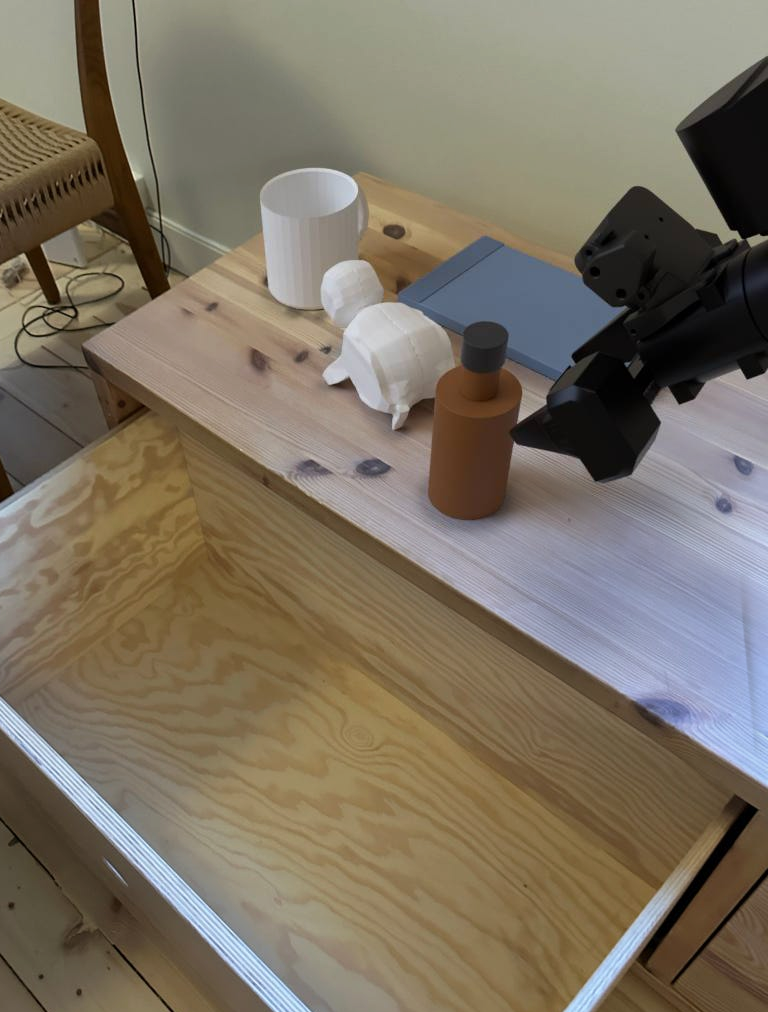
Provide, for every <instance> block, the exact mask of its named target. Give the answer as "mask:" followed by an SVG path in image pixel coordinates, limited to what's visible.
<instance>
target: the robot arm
mask: <svg viewBox="0 0 768 1012" xmlns="http://www.w3.org/2000/svg"><path fill="white" fill-rule="evenodd" d="M674 132H675V133H676V135H677V137H678V139H679V140H680V142H681V145H682V146H683V148H684V149H685V152H686V153H687V156H688V157H689V159H690V160H691V162H692V164H693V166H694V167H695V170H696V171H697V173H698V175H699V177H700V178H701V180H702V183H703V184H704V185H705V187H706V189H707V192H708V193H709V195H710V196H711V198H712V200H713V202H714V204H715V205H716V207H717V209H718V211H719V213H720V215H721V216H722V218H723V220H724V222H725V223H726V226H727V227H728V229H729V231H732V232H737V233H738V235H739V237H740V238H741V240H740V241H738V240H737V238H732V239H730V240H728V241H726V242H724V243H723V242H722V240H721V237H720V236H719V235H718V234H717V233H715V232H711V231H707V230H703V229H700V228H695V227H694V225H692V224H691V223H690V222H689V221H687V219H685V218H684V217H683V216H682V215H681V214H679V213H678V212H676V211H675V210H674V209H673V208H672V207H671V206H670V205H668V204H667V203H666V202H665V201H663V199H661V198H660V197H659V196H657V195H656V194H655V193H654V192H652V190H650V189H648V188H647V187H644V186H641V185H634V186H632V187H630V188H629V189H628V190H627V192H626V193H624V195H623V196H622V197H621V198H620V199H619V200H618V201H617V202H616V203H615V205H614V206H613V207H612V208H611V209H610V210H609V211H608V213H607V214H606V215H605V216H604V218H603V219H602V220H601V221H600V223H599V224H598V225H597V227H596V228H595V229H594V231H593V232H592V233H591V235H590V236H589V237H588V238H587V240H586V241H585V242H584V244H582V246H581V247H580V249H579V250H578V251H577V252H576V254H575V255H574V265H575V268H576V269H577V271H578V272H579V273H580V274H581V277H582V279H583V283H584V284H585V285H586V286H587V287H588V288H589V289H590V290H592V291H593V292H594V293H595V294H596V295H598V296H599V297H600V298H601V299H602V300H604V301H605V302H606V303H607V304H608V305H610V306H611V307H623V306H626V307H627V308H626V309H624V310H623V311H622V312H621V313H620V314H618V315H617V316H616V317H615V318H614V319H613V320H611V321H610V322H609V323H608V324H607V325H605V326H604V327H603V328H602V329H601V330H599V331H598V332H597V333H596V334H595V335H593V336H592V337H591V338H590V339H589V340H587V341H586V342H585V343H584V344H583V345H581V346H580V347H579V348H578V349H577V350H575V351H574V352H573V354H572V355H571V357H572V359H573V361H574V362H575V365H574V366H573V367H571V365H569V366H568V367H567V368H566V370H565V371H564V372H563V373H562V375H561V376H560V377H559V378H558V380H557V381H555V382H554V383H553V385H552V386H551V387H550V388H549V391H548V394H547V395H545V400H546V401H545V402H546V404H545V405H543V406H542V407H540V408H539V409H537V410H535V411H534V412H532V413H531V414H529V415H528V416H526V417H525V418H523V419H522V420H521V421H519V422H517V425H515V426H514V427H512V428H511V429H510V431H509V435H510V436H511V437H512V439H513V440H514V443H515V444H516V445H518V446H521V447H527V448H531V449H534V450H535V449H537V450H541V451H545V452H550V453H555V454H560V455H563V456H568V457H572V458H574V459H577V460H579V461H580V462H581V463H582V465H583V466H584V468H585V470H586V471H587V472H588V474H589V476H590V477H591V479H592V480H593V482H595V483H599V484H603V485H604V484H607V483H611V482H614V481H618V480H619V479H620V480H621V479H624V478H628V477H630V476H632V475H633V474H634V472H635V471H636V469H637V468H638V466H639V464H641V462H642V460H643V459H644V458H645V456H646V455H647V453H649V450H650V449H651V447H652V446H653V444H654V443H655V442H656V439H657V436H658V434H659V431H660V427H661V425H662V421H661V420H660V418H659V416H658V415H657V413H656V412H655V410H654V408H653V407H652V404H653V403H654V401H655V400H656V399H657V397H658V396H659V394H660V393H661V392H662V390H663V389H665V388H668V390H669V391H670V393H671V394H672V396H673V398H674V399H675V401H676V403H677V404H678V406H681V405H683V404H686V403H688V402H691V401H693V400H695V399H696V398H697V397H698V395H699V394H700V392H701V391H702V390H703V388H704V386H705V385H706V384H707V382H710V381H712V380H715V379H717V378H720V377H722V376H724V375H727V374H730V373H732V372H736V371H738V370H740V371H741V373H742V375H743V376H744V378H745V379H746V381H749V380H750V379H753V378H754V379H755V378H756V377H759V376H761V375H765V374H766V373H767V371H768V238H767V239H765V240H764V241H761V242H759V243H757V244H755V245H753V246H751V245H750V242H749V241H748V239H750V238H753V237H756V236H760V237H768V55H766V56H763V58H761V59H760V60H758V61H757V62H755V63H753V64H752V65H750V66H749V67H748V68H747V69H745V70H744V71H742V72H741V73H739V74H737V76H735V77H734V78H732V79H731V80H729V82H727V83H726V84H724V85H723V86H721V88H718V90H716V91H715V92H714V93H713V94H712V95H710V96H709V97H707V99H705V100H704V101H703V102H701V103H700V104H699V105H697V107H696V108H694V109H693V110H692V111H691V112H690V113H689V114H688V115H686V116H685V117H684V118H683V120H682V121H680V122H679V123H678V125H677V126H676V127H675V129H674ZM628 362H630V364H629V365H628V366H627V367H626V365H625V364H624V363H628Z"/></svg>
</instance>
